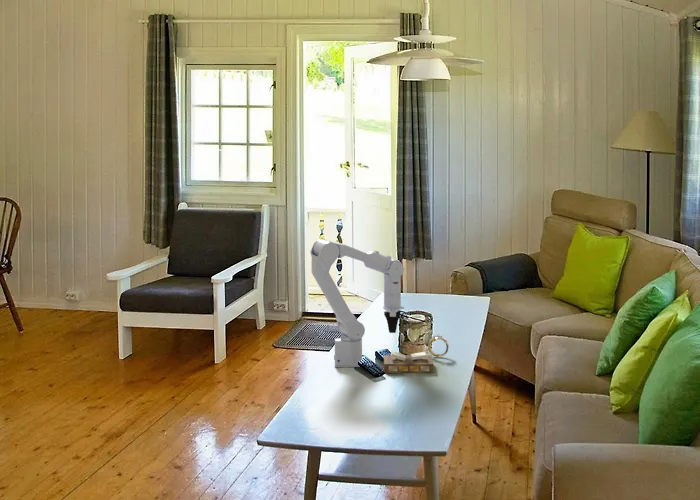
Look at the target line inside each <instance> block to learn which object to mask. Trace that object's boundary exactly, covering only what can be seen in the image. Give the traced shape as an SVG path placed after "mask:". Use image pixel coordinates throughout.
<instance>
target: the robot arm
mask: <svg viewBox="0 0 700 500" xmlns="http://www.w3.org/2000/svg"><path fill="white" fill-rule="evenodd" d="M309 253H310V256H311V274H312V276H313V278H314V279H315V281H316V283H317V285H318V286H319V289H320V291H321V292H322V294H323V295H324V297H325V299H326V301H327V302H328V304H329V306H330V308H331V309H332V311H333V314H334V315H335V320H336V322H337V329H338V331H339V332H340V333H341V334H340V337H339V338H334V355H333V360H334V367H336V368H344V367H345V368H355V367H356V368H361V367H360V366H359V365H358V362H359V361H361V360H362V359H363V337H364V335H365V332H366V329H365V326H364V324H363V323H362V322H361V321H359V320H358V319H357V317H356V316H355V314H354V313H353V312H352V311H351V310H350V307H349V305H348V304H347V303H346V301H345V299H344V297H343V295H342V294H341V292H340V290H339V288H338V286H337V285H336V282H335V281H334V279H333V277H332V275H331V273H330V270H331V268H332V266H333V264H335V261H337V260H338V258H339V259H341V258H344V257H348V258H351V259H354V260H357V261H360V262H363V264H364V267H366V268H367V269H371V270H373V271H376V272H378V273H382V274H383V310H385V311H383V313H384V317H385V319H386V323H387V327H388V332H389V333H390V334H396V332H397V328H398V322H399V319H400V317H401V315H402V314H401V311H400V310H404V309H405V305H402V303H401V302H402V300H401V299H402V298H401V297H402V292H401V291H402V287H401V285H402V284H401V283H402V275H403V273H404V270H405V268H404V266H403V264H402V262H401V261H400V260H398V259H394V258H392V256H390V255H384V254H382V253H380V251H378V250H371V251H367V252H364V251H362V250H359V249H357V248H354V247H352V246H349V245H346V244H344V243H342V242H338V241H337V242H336V241H331V240H329V241H328V240H327V239H323V238H319V239H317V240H316V241H315V242H314V243H313V245H312V246H311V249H310V252H309Z"/></svg>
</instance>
